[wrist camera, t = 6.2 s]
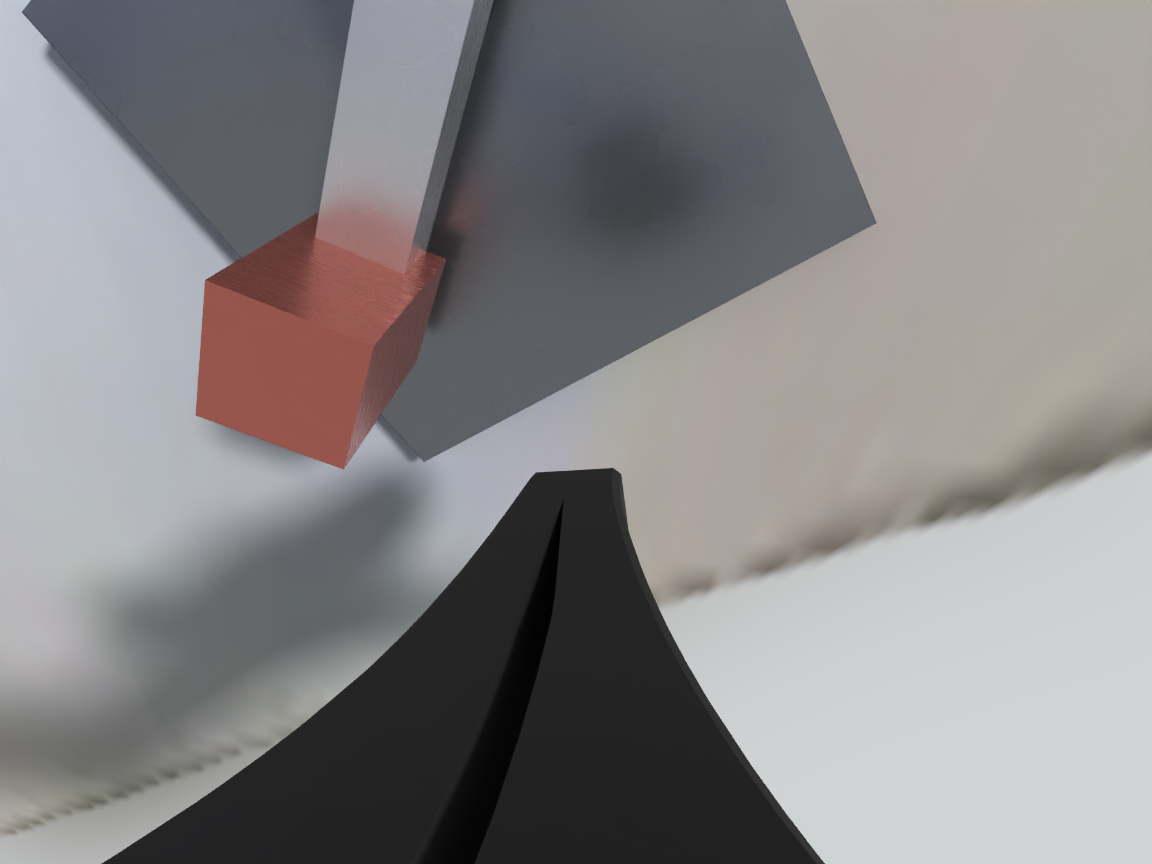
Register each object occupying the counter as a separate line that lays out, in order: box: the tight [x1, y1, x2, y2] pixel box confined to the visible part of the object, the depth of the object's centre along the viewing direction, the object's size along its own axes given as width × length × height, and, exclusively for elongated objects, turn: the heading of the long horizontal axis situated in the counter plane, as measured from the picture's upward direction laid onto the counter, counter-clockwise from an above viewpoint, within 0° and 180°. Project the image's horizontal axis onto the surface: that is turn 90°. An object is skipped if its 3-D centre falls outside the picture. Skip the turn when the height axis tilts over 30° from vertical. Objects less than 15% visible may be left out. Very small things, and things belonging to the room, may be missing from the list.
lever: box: [196, 0, 493, 469], centre depth 12 cm, size 12×3×5 cm, turn 158°
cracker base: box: [22, 0, 876, 462], centre depth 13 cm, size 14×14×7 cm
